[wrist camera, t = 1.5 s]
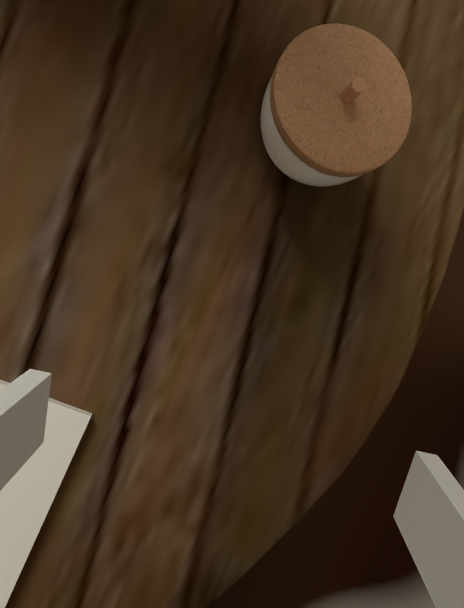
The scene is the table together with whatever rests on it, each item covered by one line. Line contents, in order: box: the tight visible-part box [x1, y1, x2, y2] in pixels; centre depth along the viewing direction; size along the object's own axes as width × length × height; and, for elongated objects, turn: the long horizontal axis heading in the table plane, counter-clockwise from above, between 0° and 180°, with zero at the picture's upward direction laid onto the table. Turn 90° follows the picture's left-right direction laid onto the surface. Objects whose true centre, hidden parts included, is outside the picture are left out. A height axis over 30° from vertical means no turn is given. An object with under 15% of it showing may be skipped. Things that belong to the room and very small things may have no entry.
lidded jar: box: [260, 23, 412, 187], centre depth 32 cm, size 11×11×9 cm
